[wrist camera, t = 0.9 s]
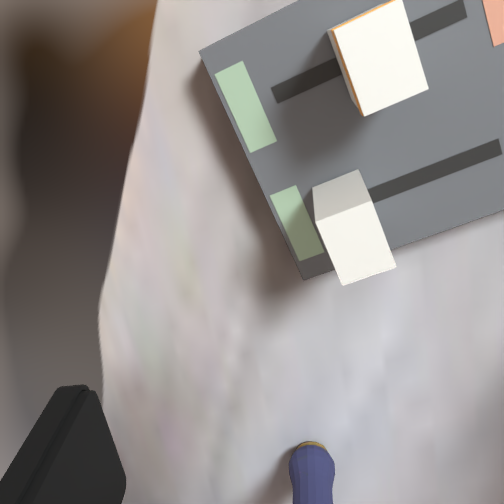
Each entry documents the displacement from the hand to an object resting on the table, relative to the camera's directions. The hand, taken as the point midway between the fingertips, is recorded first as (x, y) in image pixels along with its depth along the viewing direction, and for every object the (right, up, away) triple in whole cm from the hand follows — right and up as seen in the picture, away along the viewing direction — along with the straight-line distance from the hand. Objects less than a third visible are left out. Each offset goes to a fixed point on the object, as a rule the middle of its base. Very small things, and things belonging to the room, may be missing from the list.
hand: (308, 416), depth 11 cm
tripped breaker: (+5, +15, +16) cm, 22 cm away
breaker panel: (+7, +12, +21) cm, 25 cm away
